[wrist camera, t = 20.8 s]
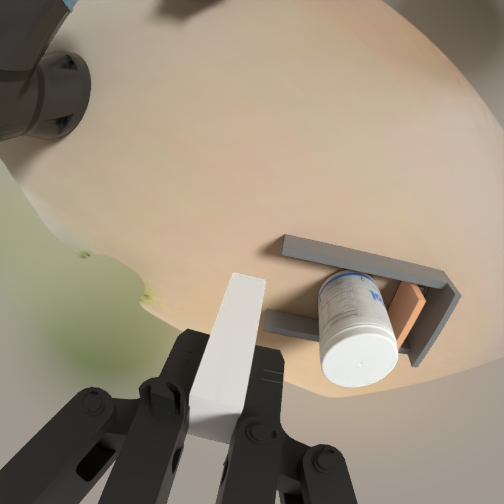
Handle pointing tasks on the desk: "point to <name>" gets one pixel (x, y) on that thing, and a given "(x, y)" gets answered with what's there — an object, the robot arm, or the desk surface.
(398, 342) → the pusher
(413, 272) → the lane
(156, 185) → the desk surface
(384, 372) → the supplement tub
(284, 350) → the desk surface
